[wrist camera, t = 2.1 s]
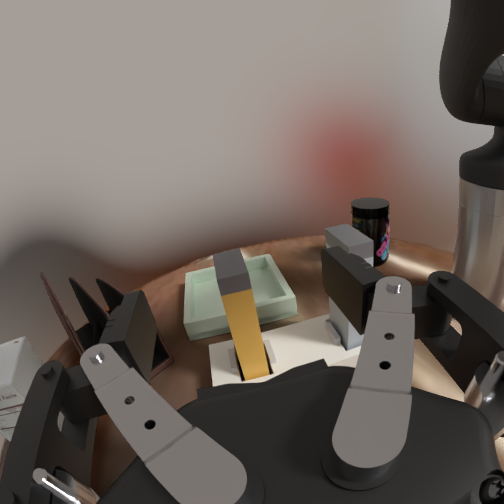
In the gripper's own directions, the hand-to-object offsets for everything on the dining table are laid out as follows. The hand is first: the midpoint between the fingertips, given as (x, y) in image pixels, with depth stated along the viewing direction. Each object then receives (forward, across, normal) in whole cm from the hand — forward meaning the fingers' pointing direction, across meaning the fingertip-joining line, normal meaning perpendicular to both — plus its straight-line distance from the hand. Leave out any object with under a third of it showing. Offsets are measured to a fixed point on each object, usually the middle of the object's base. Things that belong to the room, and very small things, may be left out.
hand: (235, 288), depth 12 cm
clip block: (+12, -6, +18) cm, 22 cm away
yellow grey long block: (+11, 0, +18) cm, 21 cm away
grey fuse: (+11, -11, +18) cm, 24 cm away
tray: (+27, 0, +18) cm, 33 cm away
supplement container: (+29, -25, +18) cm, 42 cm away
